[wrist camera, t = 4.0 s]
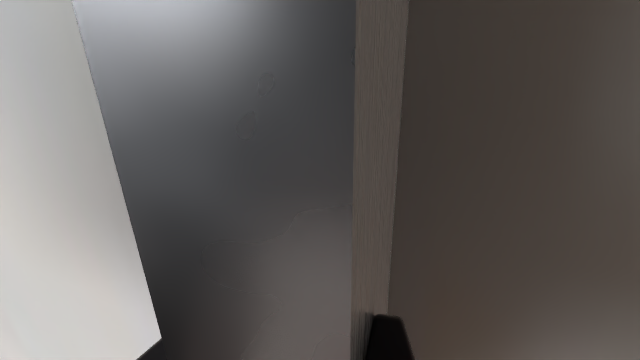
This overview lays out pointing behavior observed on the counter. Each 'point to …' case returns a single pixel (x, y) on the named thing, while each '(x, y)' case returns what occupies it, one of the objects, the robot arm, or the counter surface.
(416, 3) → the counter surface
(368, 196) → the grey rectangular bar
